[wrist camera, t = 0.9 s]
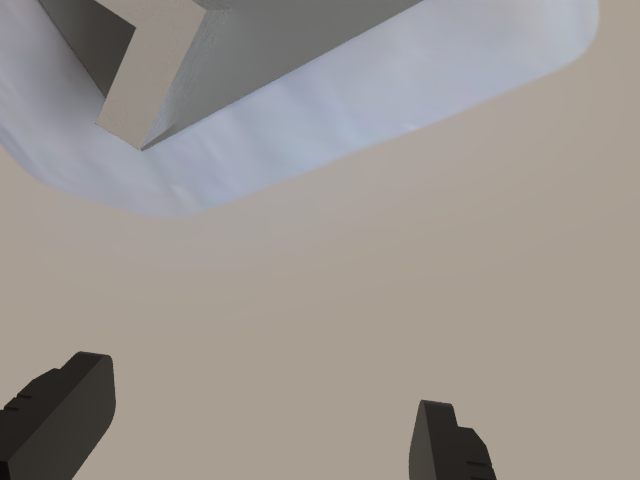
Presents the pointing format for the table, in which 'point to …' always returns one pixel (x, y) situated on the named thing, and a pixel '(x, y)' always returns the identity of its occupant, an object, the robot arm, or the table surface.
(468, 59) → the table surface
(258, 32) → the arena mat
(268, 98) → the table surface
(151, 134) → the aluminium bracket
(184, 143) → the table surface
